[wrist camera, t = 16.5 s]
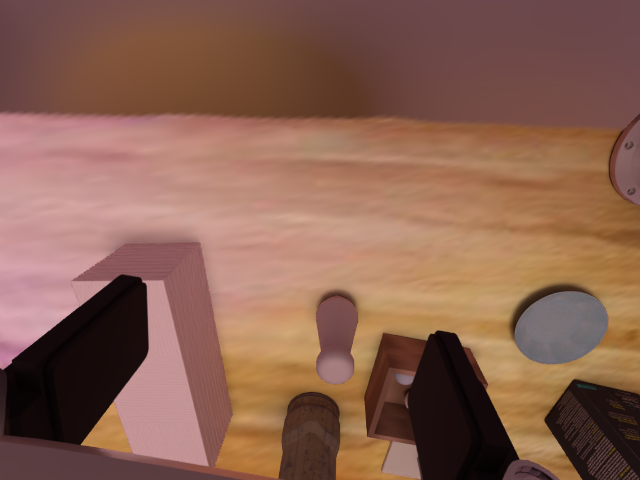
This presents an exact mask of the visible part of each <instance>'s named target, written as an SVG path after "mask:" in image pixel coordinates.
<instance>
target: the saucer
mask: <svg viewBox="0 0 640 480" xmlns="http://www.w3.org/2000/svg"><path fill="white" fill-rule="evenodd" d="M607 327H608V315H607V311H606V309H605V307H604V306H603V304H602V303H601V302H600V301H599V300H598V299H596V298H595V297H593V296H591V295H589V294H586V293H582V292H576V291H563V292H557V293H554V294H550V295H548V296H545V297H543V298H541V299H539V300H538V301H536V302H535V303H533V304H532V305H530V306H529V307H528V308H527V309H526V310H525V311H524V313H523V314H522V315H521V317H520V318H519V320H518V322H517V325H516V328H515V342H516V344H517V347H518V348H519V350H520V351H521V352H522V353H523V354H524V355H525V356H526V357H527V358H529V359H531V360H533V361H535V362H539V363H543V364H561V363H567V362H570V361H574V360H576V359H579V358H581V357H583V356H584V355H586V354H588V353H589V352H590V351H592V350H593V349H594V348H595V347H596V346H597V345H598V344H599V343H600V341H601V340H602V338H603V337H604V335H605V333H606V330H607Z"/></svg>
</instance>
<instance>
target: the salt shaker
mask: <svg viewBox="0 0 640 480" xmlns="http://www.w3.org/2000/svg"><path fill="white" fill-rule="evenodd" d="M316 322H317V329H318V335H319V341H320V348H321V352H320V354H319V355H318V357H317V361H316V369H317V373H318V375H319V376H320V378H321V379H322V380H324V381H325V382H327V383H330V384H342V383H344V382H346V381H348V380H349V379H350V378H351V376H352V375H353V373H354V359H353V357H352V355H351V353H350V352H351V348H352V344H353V339H354V335H355V331H356V327H357V323H358V313H357V311H356V309H355V307H354V305H353V304H352V303H351V302H350V301H349V300H348V299H346V298H343V297H341V296H339V295H335V296H333V297H330V298H328V299H325V300H324V301H323V302H322V303H321V304H320V306H319V308H318V310H317V312H316Z"/></svg>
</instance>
